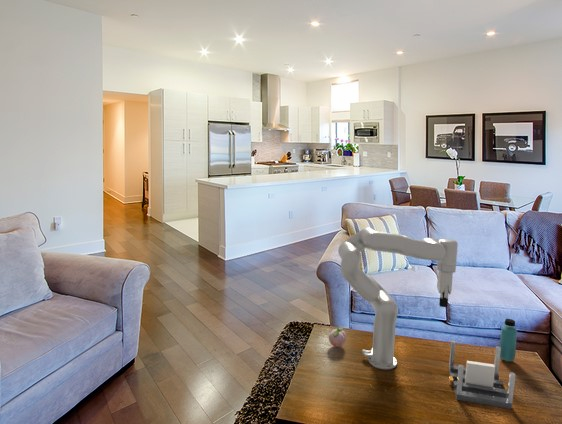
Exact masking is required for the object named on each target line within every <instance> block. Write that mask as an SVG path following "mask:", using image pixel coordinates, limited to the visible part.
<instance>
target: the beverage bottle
mask: <svg viewBox="0 0 562 424" xmlns="http://www.w3.org/2000/svg"><path fill="white" fill-rule="evenodd" d="M515 326H516V321H515V320H514V319H511V318H505V320H504V325H503V326H501V332H500V338H499V339H500V341H499V346H498V347H500V348H501V353H500V360H501V359H502V360H504V361H506V362H513V361H514V360H515V359H516V350H517V349H516V348H517V337H518V330H517V328H516V327H515Z"/></svg>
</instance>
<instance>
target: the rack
mask: <svg viewBox="0 0 562 424" xmlns="http://www.w3.org/2000/svg"><path fill="white" fill-rule="evenodd" d="M456 344H457V343H456V340H452V339H451V341H450V353H449V363H448V365H449V366H448V371H449V372H448V373H449V376H448V383H449V386H452V388H453V391H454V394H455V398H456V400H457V401H464V402H469V403H475V404H480V405H484V406H491V407H497V408H502V409H507V410H509V409H510V410H512V408H513V399H514V390H515V383H516V373H514V372H509V377H508V383H507V384H508V385H507V384H504V383H503V382H502V380H500V379H499V377H500V375H499V369H500V363H501V362H500V361H501V358H500V353H501V348H500V347H499V346H497V345H496V346H495V353H494V354H495V355H494V362H493V364H494V366H495V374H494V384H493V387H488V386H481V385H475V384H469V383H465V374H466V366H464V365H463V364H458V365H455V364H454V363H455V355H456V354H455V353H456Z"/></svg>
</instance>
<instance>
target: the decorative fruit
mask: <svg viewBox="0 0 562 424" xmlns="http://www.w3.org/2000/svg"><path fill="white" fill-rule="evenodd" d="M346 340H347V334H346V332H345V330H344V328H343V327H338V328H335V329H332V330H331V331H330V333H329V335H328V341H329V343H330V344H331V345H332V346H333V347H335V348H341V347H342V346H344V344H345V342H346Z"/></svg>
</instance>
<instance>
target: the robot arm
mask: <svg viewBox="0 0 562 424" xmlns="http://www.w3.org/2000/svg"><path fill="white" fill-rule="evenodd" d="M458 244H459V243H458V241H457V240H455V239H452V238H442V239H441V238H432V237H426V238H425V237H424V238H422V239H421V240H417V239H415V238H411V237H409V236H406V235H404V234H401V233H391V232H385V231H378V230H377V231H376V230H375V229H374V228H371V227H365V228H362V229H360V230H359V231H358V232H356V233H355V234H353V235H351V236H350V237H349V238H347V239H345V240H344V241H343V242H341V244H340V245H339V246H338V250H337V251H338V252H337V253H338V256H339V257H340V259H341V261H340V274H341V276H342V278H343V279H344V280H345V282H346V283H348V285H349V286H350V287H351V288H352V289H353V290H354V291H355V292H356V293H357V294H358V296H359V297H361V298H362V299H363V300H364V301H367V302H368V303H369V304H370V305H371V306H372V308H373V310H374V311H375V313H374V314H375V316H374V319H373V326H372V329H373V330H372V348H371V349H369V350H366V349H362V352H361V353H362V355H364V357H366V358H368V363H369V364H370V365H371V366H372V367H374V368H376V369H380V370H392V369H394V368H396V367H397V365H398V360H397V359H396V357H394V356H395V355H394V354H395V337H396V323H397V319H398V313H399V308H398V305H397V303H396V301H395V299H393V297H392V296H391V295H390V294H389V293H388V291H387V290H385V289H384V287H382V286H381V285H380V283H379V282H377V281H376V280H375V278H374V277H372V276H371V275H369V274H367V273H365V271H364V270H363V269H361V267H360V265H361V261H362V254H361V252H362V251H364V250H365V249H367V250H369V251H374V252H382V253H392V254H397V255H398V254H399V255H402V256H406V257H412V258H416V259H420V260H426V261H427V260H428V261H437V262H436V263H437V264H436V270H437V271H438V275H437V282H436V289H437V291H438V293H439V294H440V297H439V307H441V308H448V303H449V295H451V294H452V289H453V288H452V287H453V274H454V273H455V272H456V269H457V258H458V257H457V256H458V246H459V245H458Z"/></svg>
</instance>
